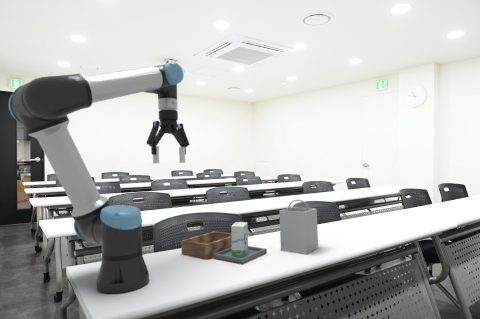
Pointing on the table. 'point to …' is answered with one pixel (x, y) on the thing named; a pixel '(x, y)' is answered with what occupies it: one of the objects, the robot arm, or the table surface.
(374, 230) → the table surface
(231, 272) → the table surface
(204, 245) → the crate
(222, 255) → the tray
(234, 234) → the ink box
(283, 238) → the caddy
